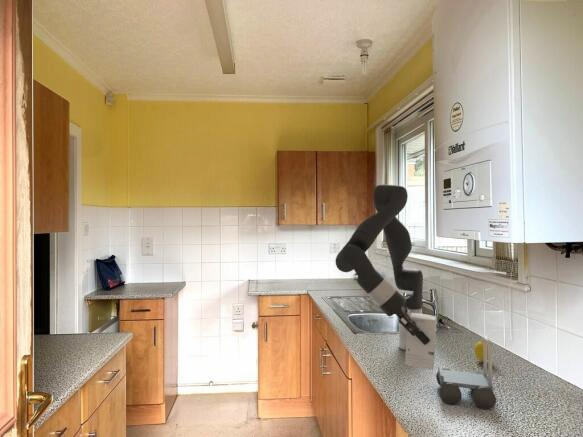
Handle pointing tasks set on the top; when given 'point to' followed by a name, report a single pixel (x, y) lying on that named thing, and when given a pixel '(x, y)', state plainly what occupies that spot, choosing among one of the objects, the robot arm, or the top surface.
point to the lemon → (480, 350)
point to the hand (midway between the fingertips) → (426, 338)
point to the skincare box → (415, 348)
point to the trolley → (469, 382)
